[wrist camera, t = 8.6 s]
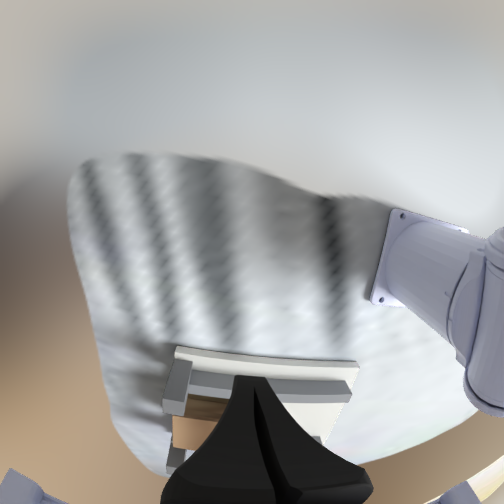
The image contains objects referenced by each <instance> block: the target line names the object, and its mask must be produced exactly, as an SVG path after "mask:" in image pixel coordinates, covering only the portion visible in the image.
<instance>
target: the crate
mask: <svg viewBox="0 0 504 504" xmlns="http://www.w3.org/2000/svg"><path fill="white" fill-rule="evenodd" d="M228 402H229V399H226V398H218V397H210V396H202V395H196V394H189V393H188V396H187V401H186V406H185V412H184V416H178V415H172V424H173V447H176V448H182V449H188V450H195V451H196V450H197V449H198V448H199V447H200V446H201V445H202V444H203V442H204V441H205V440H206V439H207V437H208V436H209V435H210V433H211V432H212V431H213V429H214V428H215V426H216V424H217V423H218V421H219V420H220V418H221V416H222V414H223V412H224V410H225V408H226V406H227V404H228Z"/></svg>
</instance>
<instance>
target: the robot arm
mask: <svg viewBox="0 0 504 504" xmlns="http://www.w3.org/2000/svg"><path fill="white" fill-rule="evenodd" d="M401 214H403V217H402V218H400V215H401ZM458 230H459V231H458ZM381 297H382V300H381V301H379V299H380V298H381ZM370 302H371V303H372V304H374V305H382V306H394V307H407V308H408V309H410V310H411V311H412V312H413V313H415V314H416V315H417V316H418V317H419V318H421V319H422V320H423V321H424V322H425V323H427V324H428V325H429V326H430V327H431V328H432V329H434V330H435V331H436V332H437V333H438V334H440V335H441V336H442V337H443V338H444V339H445V340H446V341H448V342H449V343H450V344H451V345H452V346H453V347H454V348H455V349H456V360H457V361H458V362H459V363H460V364H461V365H462V366H464V367H465V368H466V369H465V373H464V377H463V387H464V391H465V393H466V396H467V398H468V399H469V400H470V402H471V403H472V404H473V405H474V406H475V407H476V408H478V409H479V410H480V411H482V412H484V413H486V414H489V415H491V416H496V417H504V227H502V228H499V229H498V230H496V231H495V232H494V233H493V234H492V235H491V236H489V237H488V238H487V239H483V238H480V237H477V236H474V235H471V234H469V231H468V230H467V229H465V228H462V227H459V226H456V225H453V224H450V223H447V222H443V221H440V220H437V219H433V218H430V217H426V216H423V215H419V214H416V213H412V212H409V211H405V210H401V209H397V208H394V209H393V210H392V211H391V214H390V219H389V224H388V228H387V233H386V237H385V242H384V246H383V250H382V255H381V259H380V263H379V266H378V270H377V274H376V278H375V281H374V285H373V289H372V292H371V295H370ZM372 492H373V485H372V483H371V480H370V478H369V476H368V474H367V473H366V471H365V469H364V468H361V467H359V466H357V465H355V464H353V463H351V462H348V461H346V460H345V459H343V458H341V457H339V456H338V455H336V454H334V453H333V452H331V451H330V450H328V449H327V448H325V447H324V446H323V445H321V444H320V443H319V442H317V441H316V440H315V439H314V438H313V437H311V436H310V435H309V434H308V433H307V432H306V431H305V430H304V429H303V428H302V427H301V426H300V425H299V424H298V423H297V422H296V421H295V419H294V418H293V417H292V416H291V415H290V413H289V412H288V411H287V410H286V408H285V407H284V405H283V404H282V403H281V401H280V400H279V398H278V397H277V395H276V394H275V392H274V391H273V389H272V387H271V386H270V384H269V382H268V380H267V379H266V378H265V377H259V376H247V375H236V376H234V381H233V387H232V393H231V396H230V399H229V402H228V404H227V406H226V408H225V410H224V412H223V414H222V416H221V418H220V420H219V421H218V423H217V424H216V426H215V428H214V429H213V431H212V432H211V433H210V435H209V436H208V437H207V439H206V440H205V441H204V442H203V444H202V445H201V446H200V447H199V448H198V449H197V450H196V451H195V452H194V453H193V454H192V455H191V456H190V457H189V458H188V459H187V460H186V461H185V462H184V463H183V464H181V465H180V466H179V467H178V468H177V469H175V471H174V472H173V474H172V475H171V477H170V479H169V480H168V482H167V483H166V485H165V487H164V489H163V492H162V495H161V501H160V504H363V503H364V502H365V501H366V500H367V499H368V497H369V496H370V495H371V494H372ZM0 504H68V503H66V502H63V501H61V500H59V499H57V498H54V497H52V496H50V495H48V494H46V493H44V491H43V490H42V488H41V487H40V486H39V485H38V484H37V483H36V482H34V481H33V480H31V479H29V478H28V477H26V476H24V475H22V474H20V473H18V472H17V471H15V470H13V469H12V468H9V470H8V472H7V474H6V475H5V477H4V479H3V481H2V483H1V485H0ZM428 504H481V502H480V500H479V499H478V497H477V496H476V494H475V493H474V491H473V490H472V488H471V487H470V485H469V484H468V482H467V481H464V482H462V483H460V484H458V485H456V486H454V487H452V488H451V489H449V490H447V491H446V492H445V493H444V494H443V495H442V496H441V497H440V498H439V499H437V500H435V501H433V502H430V503H428Z"/></svg>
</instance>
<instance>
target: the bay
mask: <svg viewBox="0 0 504 504" xmlns="http://www.w3.org/2000/svg"><path fill="white" fill-rule="evenodd" d="M359 369H360V366H359V365H358V363H357V362H349V361H314V360H296V359H281V358H269V357H258V356H248V355H239V354H231V353H223V352H215V351H208V350H201V349H195V348H188V347H182V346H177V347H176V350H175V359H174V362H173V365H172V368H171V371H170V375H169V378H168V381H167V384H166V388H165V391H164V394H163V398H162V406H163V413H167V414H172V415H178V416H184V412H185V406H186V401H187V396H188V393H189V394H196V395H202V396H210V397H218V398H226V399H230V396H231V393H232V387H233V381H234V376H236V375H247V376H259V377H265V378H266V379H267V380H268V382H269V384H270V386H271V387H272V389H273V391H274V392H275V394H276V395H277V397H278V398H279V400H280V401H281V403H282V404H283V405H284V407H285V408H286V410H287V411H288V412H289V413H290V415H291V416H292V417H293V418H294V419H295V421H296V422H297V423H298V424H299V425H300V426H301V427H302V428H303V429H304V430H305V431H306V432H307V433H308V434H309V435H310V436H311V437H313V438H314V439H315V440H316V441H317V442H319V443H320V444H321V445H324V443H325V441H326V440H327V438H328V436H329V434H330V432H331V430H332V428H333V426H334V424H335V422H336V420H337V418H338V416H339V414H340V412H341V410H342V408H343V406H344V404H345V403H348V402H349V400H350V398H351V396H352V393H351V391H350V390H351V388H352V386H353V384H354V381H355V379H356V376H357V374H358V372H359ZM186 452H187V449H182V448H176V447H173V432H172V437H171V444H170V449H169V454H168V459H167V464H166V470H167V474H173V472H174V471H175V469H177V468H178V467H179V466H180V465H181V464H183V463H184V462H185V458H186Z"/></svg>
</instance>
